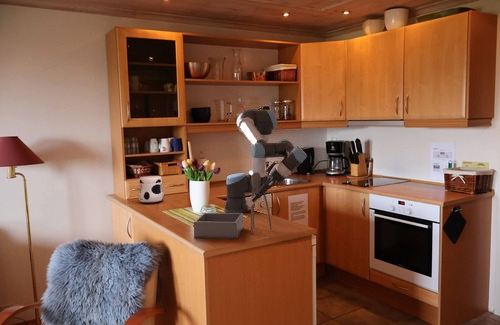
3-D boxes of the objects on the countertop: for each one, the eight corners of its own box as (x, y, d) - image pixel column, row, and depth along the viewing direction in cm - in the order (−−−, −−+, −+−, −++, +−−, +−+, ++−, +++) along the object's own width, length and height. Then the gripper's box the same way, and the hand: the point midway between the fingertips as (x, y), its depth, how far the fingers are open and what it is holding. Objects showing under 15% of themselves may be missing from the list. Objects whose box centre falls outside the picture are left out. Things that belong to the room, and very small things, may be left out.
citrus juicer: (271, 229, 214) (268, 171, 210) (261, 235, 206) (257, 174, 202) (253, 227, 221) (250, 170, 217) (242, 232, 213) (238, 173, 209)
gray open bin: (204, 227, 223) (203, 212, 222) (243, 228, 220) (242, 213, 219) (194, 238, 203) (193, 221, 202) (237, 239, 200) (236, 222, 200)
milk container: (135, 202, 299) (133, 177, 297) (157, 199, 309) (156, 174, 307) (145, 205, 285) (143, 179, 283) (168, 202, 295) (167, 177, 294)
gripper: (284, 181, 198) (252, 213, 202) (286, 174, 220) (257, 203, 224) (273, 170, 198) (240, 202, 202) (276, 164, 220) (247, 193, 224)
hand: (249, 203), depth 213 cm, fingers open, 10 cm apart
